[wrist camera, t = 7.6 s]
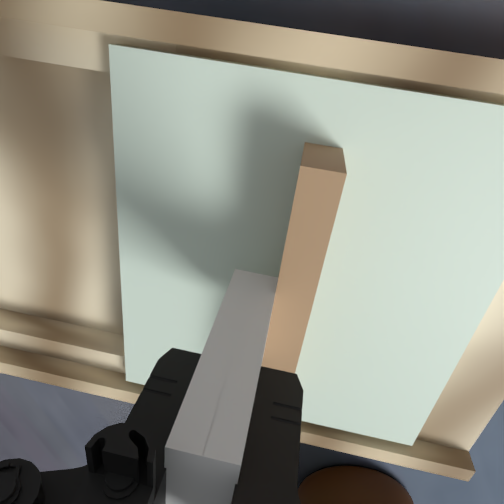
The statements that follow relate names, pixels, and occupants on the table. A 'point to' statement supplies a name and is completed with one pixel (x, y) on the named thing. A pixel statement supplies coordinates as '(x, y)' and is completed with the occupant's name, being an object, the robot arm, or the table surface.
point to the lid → (308, 225)
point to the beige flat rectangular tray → (105, 201)
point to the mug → (351, 487)
